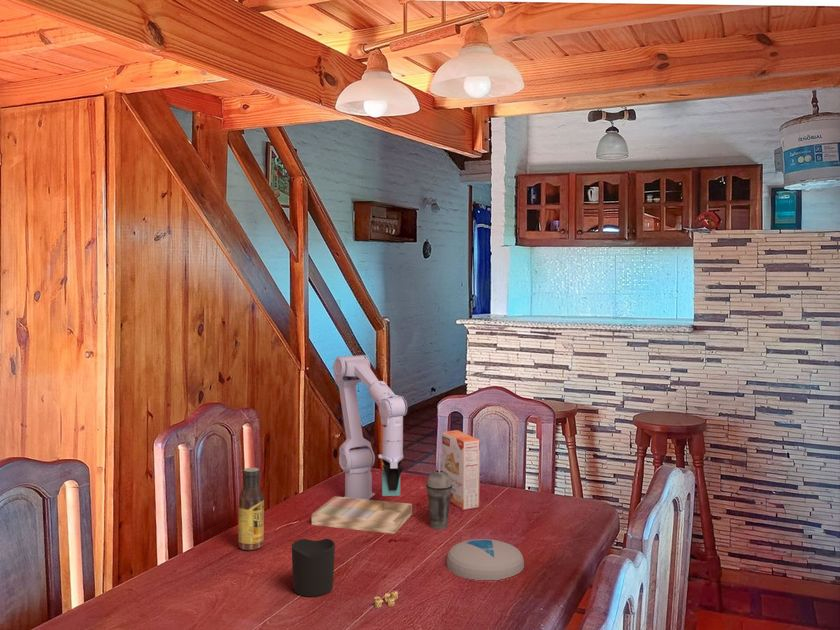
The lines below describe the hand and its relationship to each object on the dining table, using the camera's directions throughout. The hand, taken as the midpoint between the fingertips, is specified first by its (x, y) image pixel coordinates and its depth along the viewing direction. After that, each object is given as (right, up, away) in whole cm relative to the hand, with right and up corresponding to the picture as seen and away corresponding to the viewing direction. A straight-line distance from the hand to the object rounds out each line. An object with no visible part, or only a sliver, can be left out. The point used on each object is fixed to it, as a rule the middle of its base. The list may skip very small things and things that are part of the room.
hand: (392, 486), depth 208 cm
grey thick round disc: (+23, -12, -32) cm, 41 cm away
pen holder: (-16, -12, -46) cm, 50 cm away
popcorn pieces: (+1, -13, -52) cm, 54 cm away
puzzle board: (-8, -9, -1) cm, 12 cm away
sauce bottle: (-35, -10, -22) cm, 43 cm away
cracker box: (+20, -8, +14) cm, 26 cm away
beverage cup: (+13, -10, -6) cm, 17 cm away
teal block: (0, -2, 0) cm, 2 cm away
